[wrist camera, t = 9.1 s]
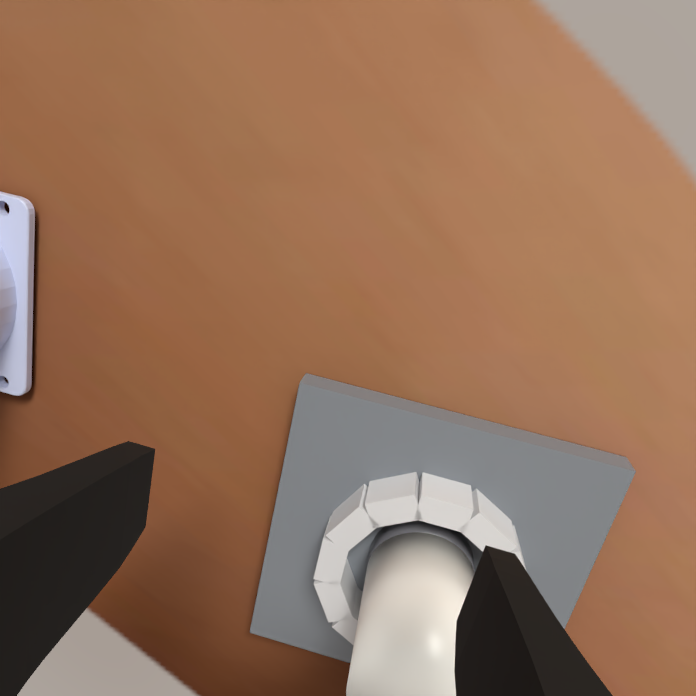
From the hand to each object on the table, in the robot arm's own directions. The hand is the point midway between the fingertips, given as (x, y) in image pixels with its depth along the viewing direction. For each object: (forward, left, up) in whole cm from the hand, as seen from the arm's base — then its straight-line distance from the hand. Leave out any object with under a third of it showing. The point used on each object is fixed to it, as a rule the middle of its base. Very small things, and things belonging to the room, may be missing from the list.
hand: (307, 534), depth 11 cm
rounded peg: (+4, -6, -8) cm, 11 cm away
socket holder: (+4, -6, -9) cm, 12 cm away
